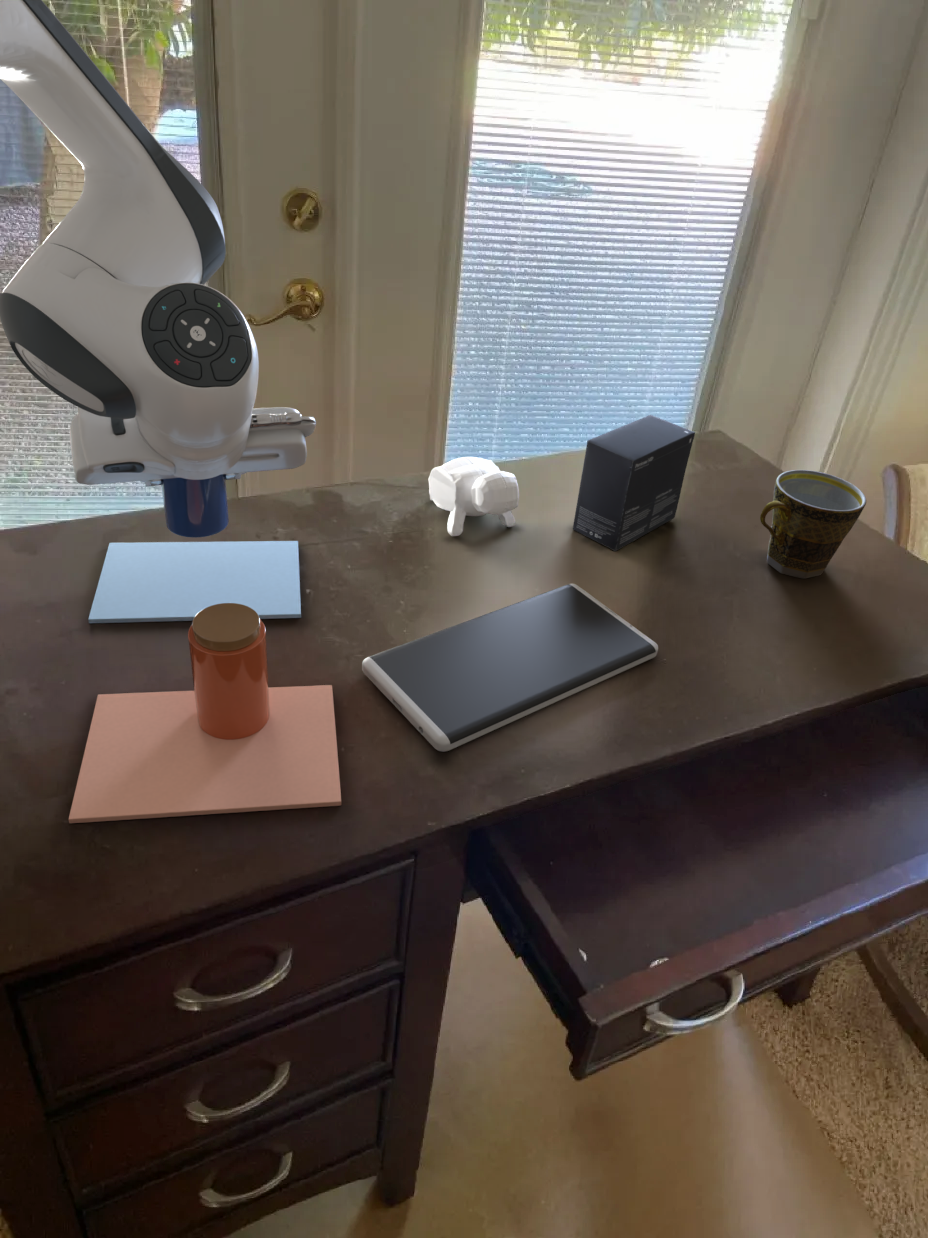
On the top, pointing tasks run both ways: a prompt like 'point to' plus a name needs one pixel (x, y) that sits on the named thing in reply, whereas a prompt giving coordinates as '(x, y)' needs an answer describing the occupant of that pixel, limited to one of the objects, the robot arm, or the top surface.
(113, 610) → the blue mat
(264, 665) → the terracotta jar
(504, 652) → the smartphone
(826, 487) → the ceramic cup
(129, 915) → the top surface
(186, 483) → the blue jar
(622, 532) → the small box
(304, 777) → the clay mat
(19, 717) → the top surface
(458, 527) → the white sheep figurine
